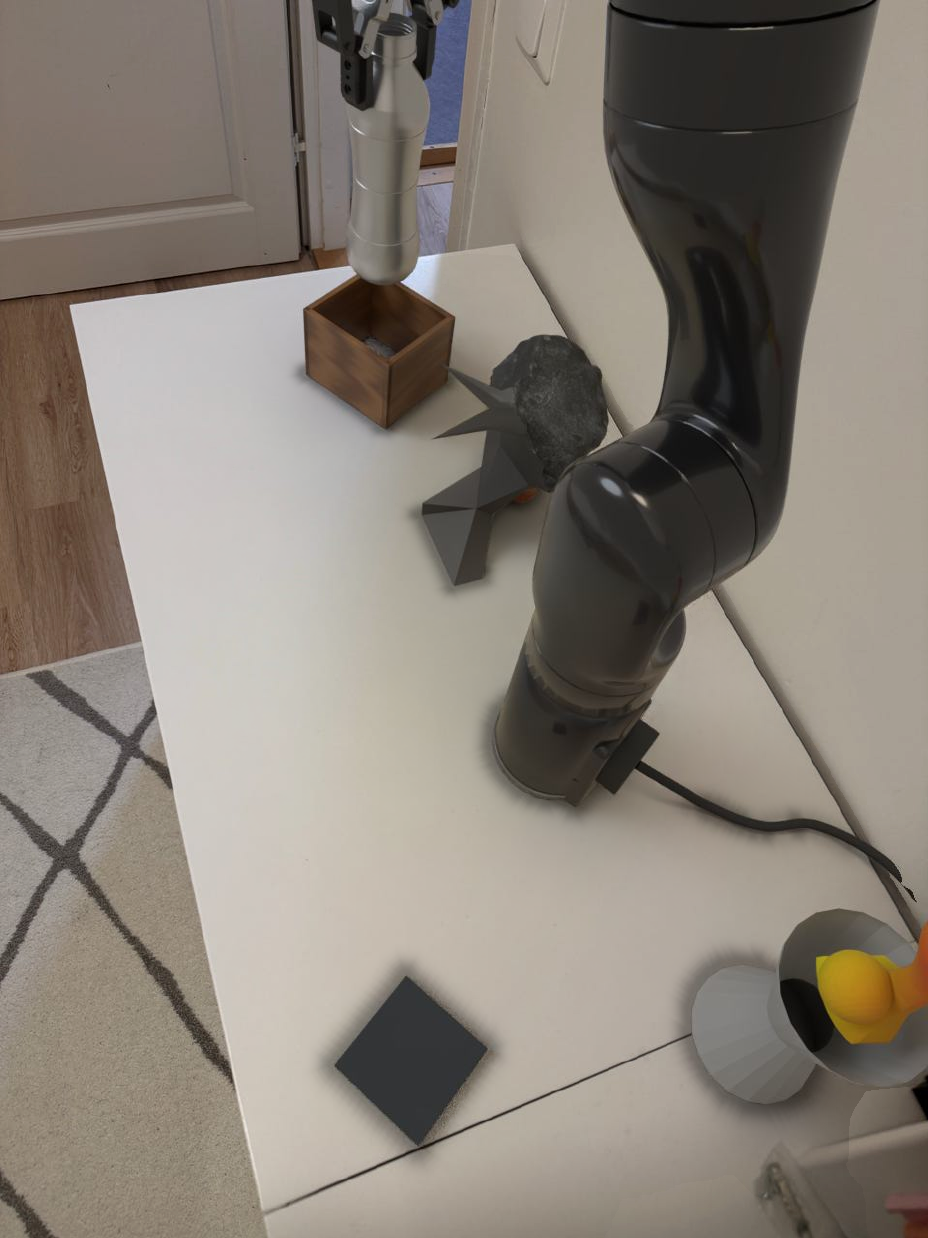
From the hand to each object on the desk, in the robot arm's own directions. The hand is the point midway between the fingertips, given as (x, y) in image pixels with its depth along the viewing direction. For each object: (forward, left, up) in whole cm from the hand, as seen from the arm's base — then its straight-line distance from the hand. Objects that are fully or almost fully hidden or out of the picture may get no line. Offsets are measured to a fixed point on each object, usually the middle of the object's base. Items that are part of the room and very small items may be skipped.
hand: (388, 89), depth 66 cm
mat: (-43, +45, -29) cm, 68 cm away
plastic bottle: (0, 0, -16) cm, 16 cm away
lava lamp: (-60, +29, -29) cm, 72 cm away
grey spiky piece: (-19, +4, -29) cm, 35 cm away
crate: (0, 0, -29) cm, 29 cm away
